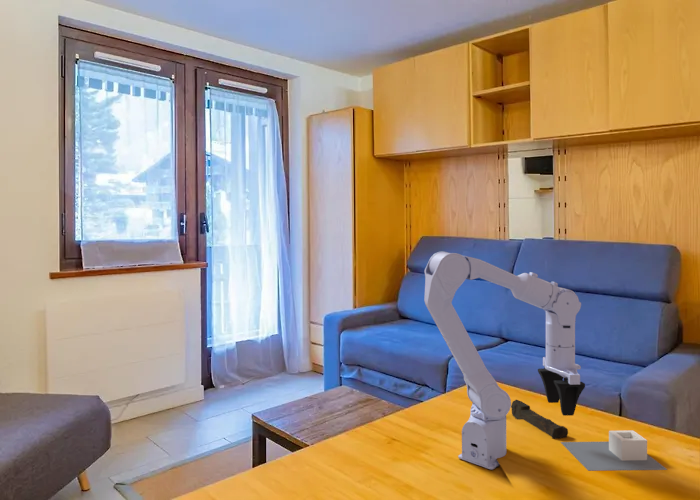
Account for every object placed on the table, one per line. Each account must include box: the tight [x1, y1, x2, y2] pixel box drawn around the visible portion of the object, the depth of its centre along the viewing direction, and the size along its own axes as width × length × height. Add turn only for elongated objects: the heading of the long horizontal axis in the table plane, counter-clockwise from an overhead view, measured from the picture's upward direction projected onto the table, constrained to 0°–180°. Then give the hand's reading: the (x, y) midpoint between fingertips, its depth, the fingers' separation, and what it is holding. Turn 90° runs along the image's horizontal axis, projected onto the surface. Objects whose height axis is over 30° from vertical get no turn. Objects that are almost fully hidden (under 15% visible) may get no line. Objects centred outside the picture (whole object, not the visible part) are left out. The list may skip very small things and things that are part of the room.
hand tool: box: [510, 399, 569, 440], centre depth 121 cm, size 19×4×5 cm, turn 13°
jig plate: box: [560, 438, 668, 472], centre depth 103 cm, size 15×13×4 cm
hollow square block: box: [608, 430, 648, 461], centre depth 103 cm, size 5×5×4 cm
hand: (560, 408), depth 107 cm, fingers open, 7 cm apart
